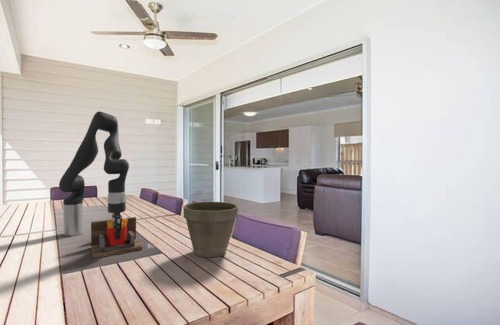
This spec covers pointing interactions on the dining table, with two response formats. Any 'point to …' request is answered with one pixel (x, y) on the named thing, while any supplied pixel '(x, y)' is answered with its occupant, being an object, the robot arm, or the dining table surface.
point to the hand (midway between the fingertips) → (116, 237)
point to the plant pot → (210, 226)
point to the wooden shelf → (101, 240)
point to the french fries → (111, 233)
